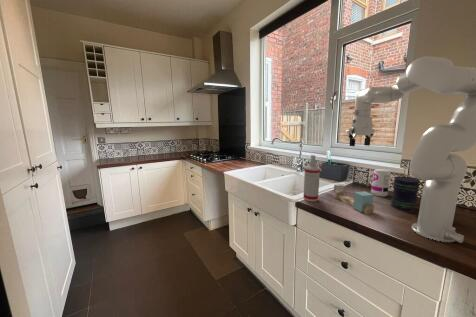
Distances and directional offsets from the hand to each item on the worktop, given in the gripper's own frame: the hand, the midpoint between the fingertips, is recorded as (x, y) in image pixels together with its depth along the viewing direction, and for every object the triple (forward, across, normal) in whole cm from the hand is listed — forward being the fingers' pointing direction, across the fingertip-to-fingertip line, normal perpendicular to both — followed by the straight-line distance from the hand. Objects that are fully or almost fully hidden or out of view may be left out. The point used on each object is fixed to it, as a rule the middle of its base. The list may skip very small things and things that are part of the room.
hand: (359, 145), depth 113 cm
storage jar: (+30, +12, -17) cm, 37 cm away
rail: (+30, -10, -7) cm, 32 cm away
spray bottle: (+30, -26, +5) cm, 40 cm away
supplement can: (+30, +18, +1) cm, 35 cm away
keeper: (+30, -10, -15) cm, 35 cm away
